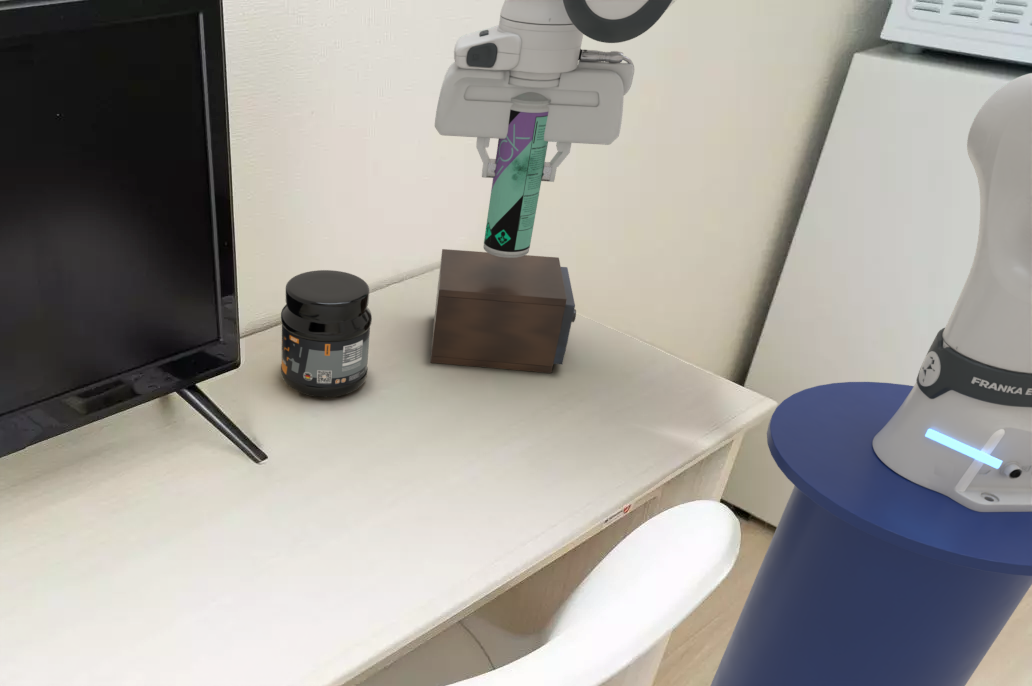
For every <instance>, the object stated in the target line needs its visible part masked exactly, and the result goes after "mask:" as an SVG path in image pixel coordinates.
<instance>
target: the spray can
mask: <svg viewBox="0 0 1032 686" xmlns="http://www.w3.org/2000/svg"><path fill="white" fill-rule="evenodd" d="M511 101H512V102H513V103H514V104H513V105H512V106H511V109H510V117H509V125H508V133H507V136H506V138H505V139H498V141H497V147H496V154H495V159H496V163H497V165H496V170H495V178H492V183H491V188H490V197H489V202H488V203H489V205H488V212H487V217H486V223H485V224H486V225H485V230H484V231H485V232H484V238H483V250H484V252H488V253H490V254H492V255H495V256H499V257H507V258H515V257H521V256H524V255H528V254H529V252H530V248H531V242H532V236H533V230H534V226H535V220H536V214H537V208H538V202H539V197H540V191H541V185H542V181H541V178H542V174H543V167H544V163H545V162H546V156H547V151H548V147H549V146H548V145H549V142H548V141H544V133H545V128H546V122H547V117H548V112H549V107H548V106H547V104H549V103H550V102H551V100H548V99H547V98H546V97H544V96H543V95H541V94H539V93H535V92H527V93H523V94H520V95H518V96H516V97H515V98H511Z"/></svg>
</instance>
